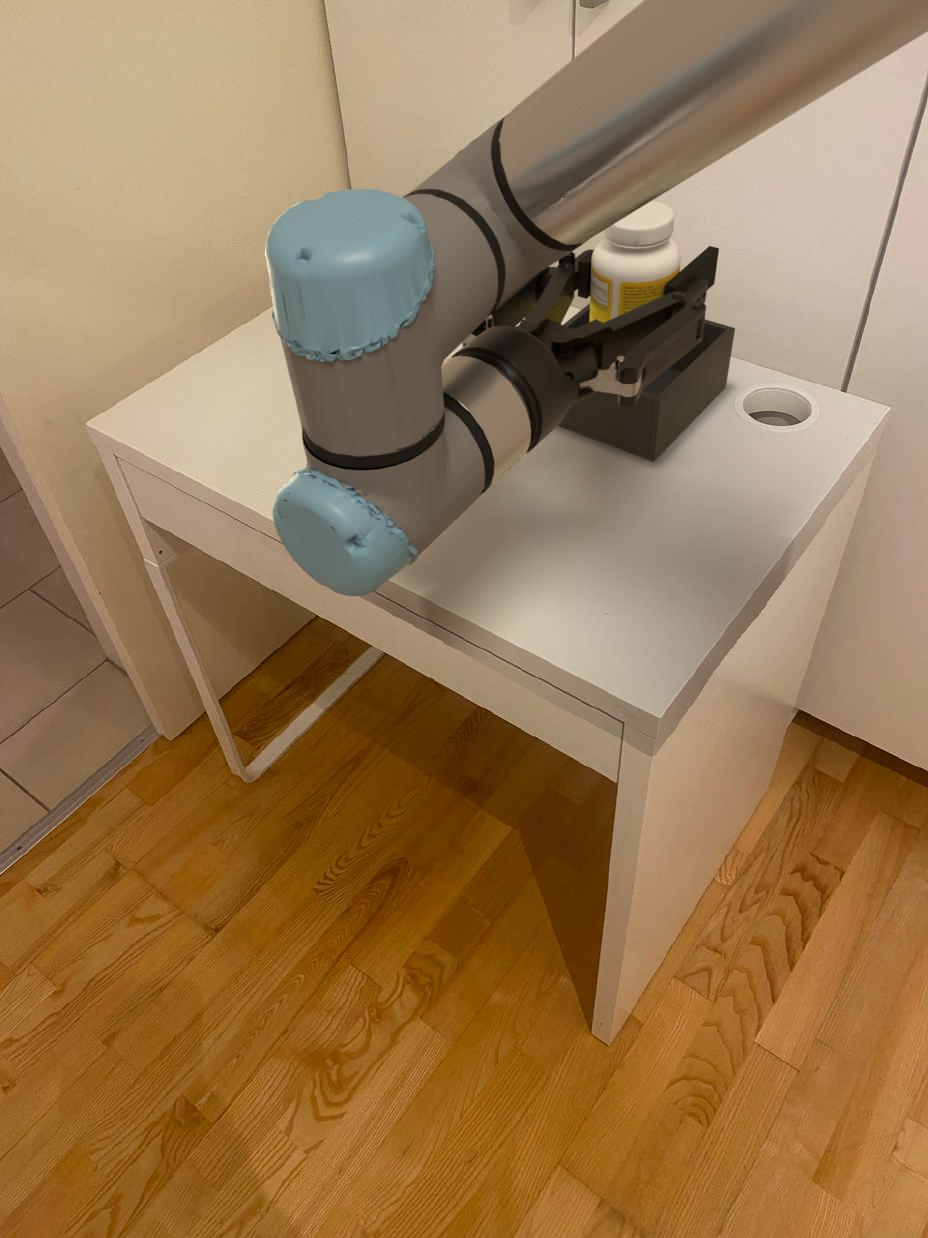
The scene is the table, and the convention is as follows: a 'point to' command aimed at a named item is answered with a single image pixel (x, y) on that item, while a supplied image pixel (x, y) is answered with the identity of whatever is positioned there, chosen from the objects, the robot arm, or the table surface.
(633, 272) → the pill bottle
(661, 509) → the table surface
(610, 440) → the basket
